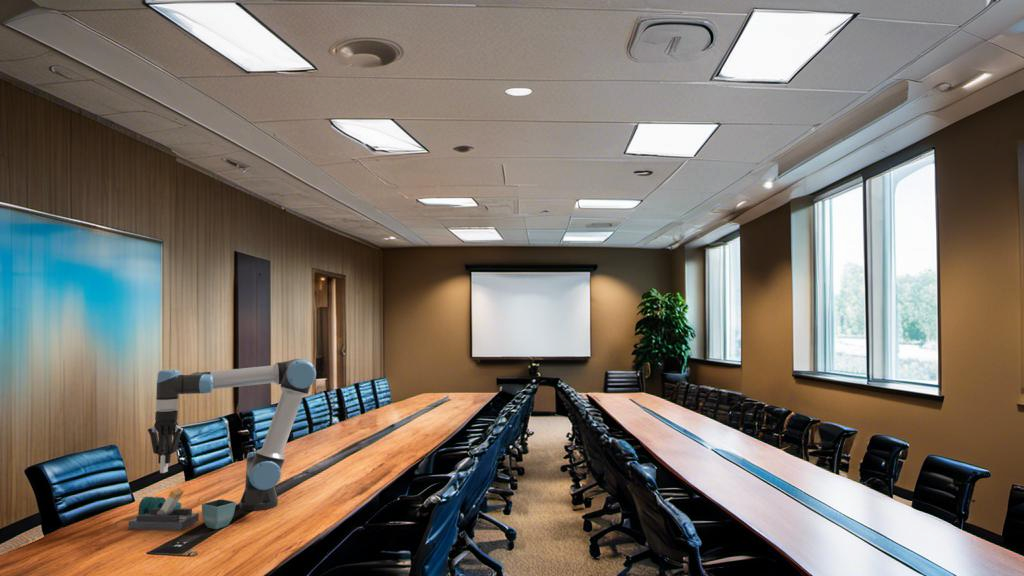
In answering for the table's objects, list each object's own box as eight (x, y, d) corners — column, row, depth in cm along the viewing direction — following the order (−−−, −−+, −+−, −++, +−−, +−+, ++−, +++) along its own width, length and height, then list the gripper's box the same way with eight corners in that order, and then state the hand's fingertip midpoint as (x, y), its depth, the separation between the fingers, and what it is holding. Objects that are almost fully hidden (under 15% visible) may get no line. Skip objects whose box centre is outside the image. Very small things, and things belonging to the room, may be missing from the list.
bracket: (153, 520, 237) (154, 499, 238) (137, 519, 238) (139, 498, 239) (184, 508, 255) (185, 489, 256) (170, 507, 256) (171, 488, 257)
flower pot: (235, 525, 232) (236, 501, 232) (215, 532, 224) (217, 507, 224) (219, 522, 235) (220, 498, 236) (199, 528, 227) (200, 504, 228)
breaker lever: (170, 515, 234) (185, 491, 235) (161, 520, 228) (176, 495, 229) (164, 511, 234) (178, 487, 235) (154, 515, 228) (170, 491, 229)
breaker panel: (198, 521, 237) (198, 512, 237) (181, 530, 225) (182, 521, 225) (147, 520, 237) (148, 511, 237) (128, 529, 225) (128, 520, 225)
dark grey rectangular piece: (191, 513, 236) (192, 508, 236) (176, 521, 225) (176, 516, 226) (153, 512, 236) (153, 508, 237) (136, 520, 226) (136, 515, 226)
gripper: (188, 408, 238) (186, 470, 236) (155, 408, 238) (152, 470, 236) (178, 411, 231) (175, 474, 229) (144, 411, 231) (140, 474, 229)
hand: (163, 472), depth 233 cm, fingers closed
